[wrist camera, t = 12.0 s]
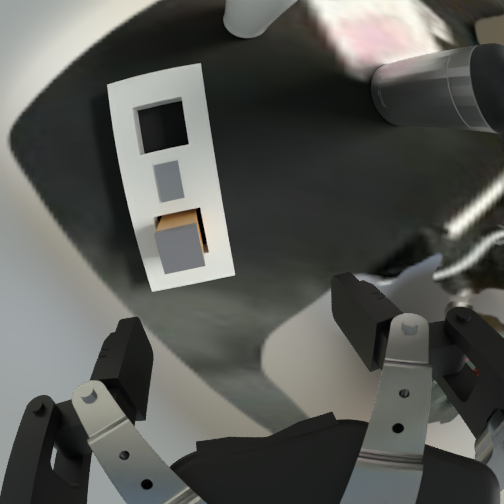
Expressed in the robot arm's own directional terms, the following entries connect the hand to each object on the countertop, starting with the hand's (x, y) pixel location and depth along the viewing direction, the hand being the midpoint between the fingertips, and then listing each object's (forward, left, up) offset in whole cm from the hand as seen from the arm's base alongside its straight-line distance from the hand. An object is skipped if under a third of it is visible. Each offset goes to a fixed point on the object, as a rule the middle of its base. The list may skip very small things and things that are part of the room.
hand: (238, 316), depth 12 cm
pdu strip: (+4, -3, -24) cm, 24 cm away
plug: (+3, +3, -24) cm, 24 cm away
